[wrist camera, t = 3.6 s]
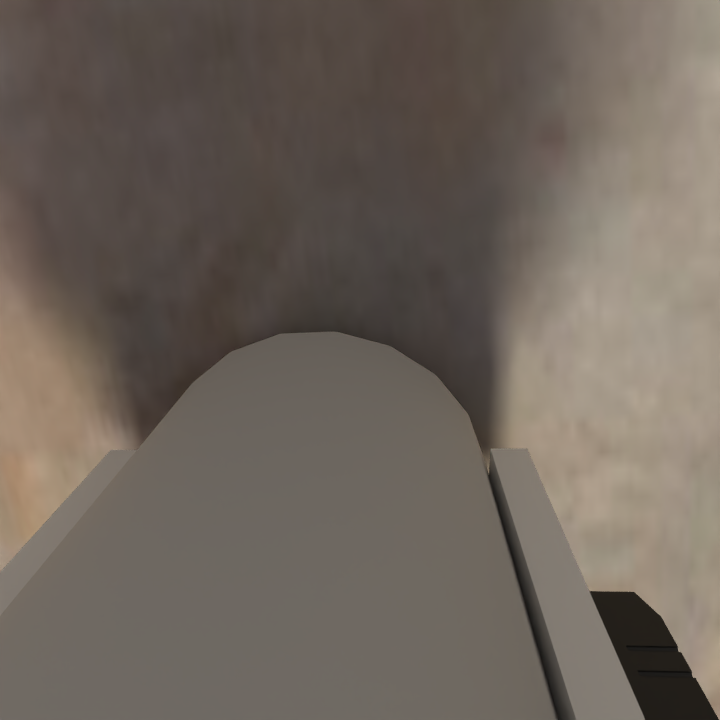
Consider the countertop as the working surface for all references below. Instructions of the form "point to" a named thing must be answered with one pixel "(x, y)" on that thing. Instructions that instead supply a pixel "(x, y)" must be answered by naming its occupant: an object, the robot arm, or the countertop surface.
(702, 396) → the countertop surface
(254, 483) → the can
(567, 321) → the countertop surface
